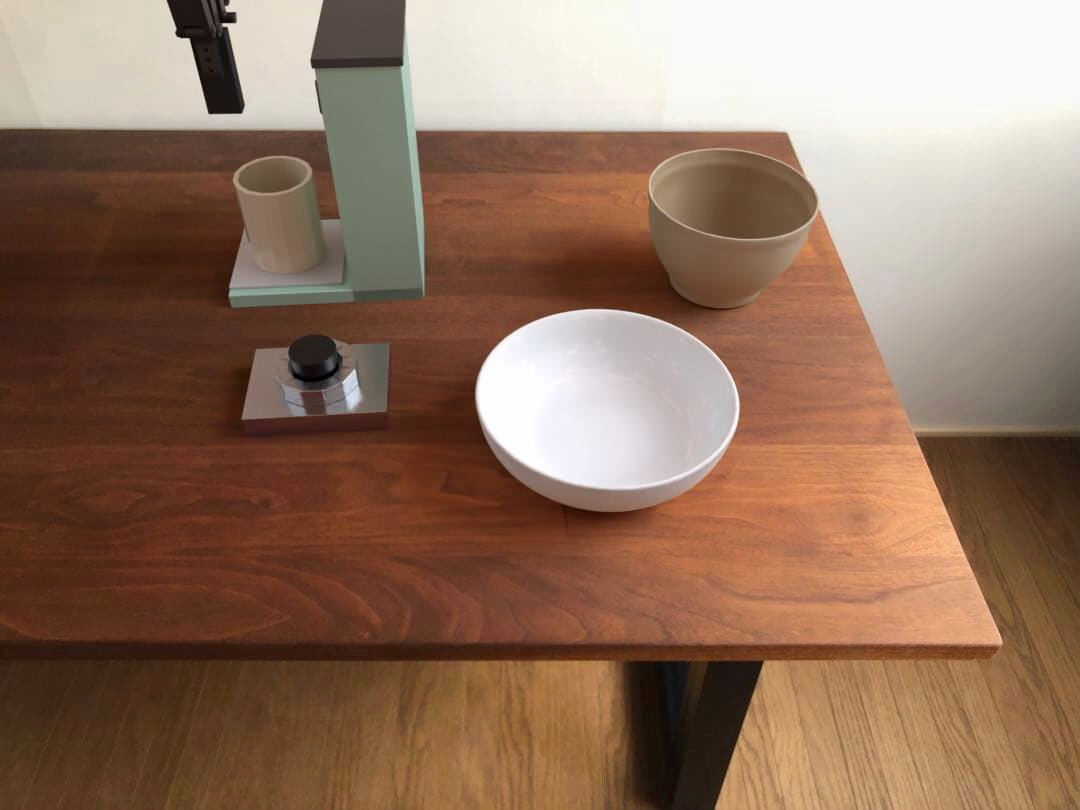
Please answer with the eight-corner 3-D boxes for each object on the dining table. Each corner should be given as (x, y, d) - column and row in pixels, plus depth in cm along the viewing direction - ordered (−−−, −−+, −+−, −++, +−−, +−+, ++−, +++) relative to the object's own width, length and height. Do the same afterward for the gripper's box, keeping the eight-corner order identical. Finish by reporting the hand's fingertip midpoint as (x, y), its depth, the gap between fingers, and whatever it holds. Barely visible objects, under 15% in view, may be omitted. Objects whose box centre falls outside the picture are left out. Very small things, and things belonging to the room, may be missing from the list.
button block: (246, 437, 76) (236, 404, 73) (260, 366, 82) (251, 333, 80) (389, 429, 77) (383, 396, 74) (391, 360, 83) (387, 326, 80)
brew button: (289, 384, 75) (285, 366, 74) (294, 353, 78) (290, 335, 77) (337, 381, 76) (334, 363, 74) (341, 350, 79) (337, 332, 77)
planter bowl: (647, 333, 86) (659, 238, 79) (630, 238, 98) (639, 147, 90) (811, 332, 87) (839, 238, 79) (776, 238, 98) (797, 147, 91)
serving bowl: (752, 540, 69) (769, 482, 64) (481, 553, 68) (477, 495, 63) (699, 360, 84) (710, 302, 79) (476, 369, 82) (473, 310, 78)
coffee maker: (231, 309, 88) (159, 63, 71) (250, 233, 98) (190, -1, 80) (426, 300, 90) (402, 56, 72) (426, 226, 99) (405, -5, 82)
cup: (248, 275, 89) (227, 196, 83) (258, 234, 94) (239, 157, 88) (323, 272, 90) (308, 193, 83) (329, 231, 95) (315, 154, 89)
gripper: (183, -217, 53) (261, 148, 69) (222, -256, 62) (283, 74, 79) (51, -218, 52) (162, 150, 69) (111, -258, 61) (196, 75, 78)
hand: (226, 109), depth 74 cm, fingers closed
